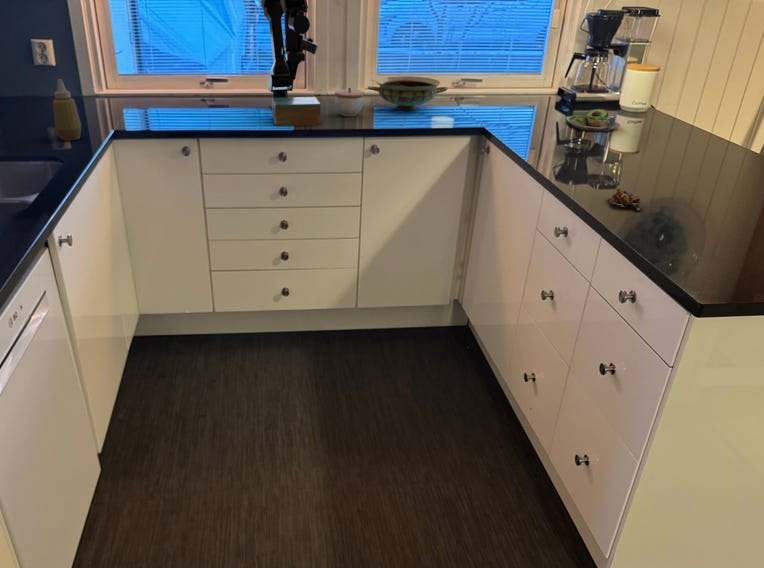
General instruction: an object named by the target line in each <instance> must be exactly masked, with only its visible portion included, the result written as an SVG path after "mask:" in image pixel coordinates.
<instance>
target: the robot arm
mask: <svg viewBox="0 0 764 568" xmlns="http://www.w3.org/2000/svg"><path fill="white" fill-rule="evenodd" d="M260 6H261V8H262V10H263V11H262V12H263V15H264V16H265V18H266V20H267V21H268V23H269V33H270V42H271V43H270V44H271V51H272V52H271V53H272V62H273V63H272V66H271V69H270V70H269V76H268V80H267V90H268V91H269V92H270V93H272V98H289V95H288V94H289V92H293V89H294V82H295V80H296V77H297V74H298V73H297V72H298V68H299V64H300V63H302V62H305V61H306V54H305V53H304V51H305V52H308V53H310V54H311V55H315V56H316V53H317V50H318V47H319V44H318V43H316V42H314V39H313V38H311V37H307V38H304V36H303V35H305V34H306V33H307V32H309V30H310V26H311V23H310V22H311V21H310V19H309V18H308V17H307V16H306V15H305V14H307V13H308V9H309V5H308V2H307V0H260ZM283 16H284V19H283ZM282 19H283V23H284V24H283V23H282ZM283 25H284V31H283ZM270 106H271V107H272V104H271V105H270Z"/></svg>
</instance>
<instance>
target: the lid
mask: <svg viewBox="0 0 764 568" xmlns="http://www.w3.org/2000/svg"><path fill="white" fill-rule="evenodd" d="M272 101H273V103H274V105H275V107H310V106H320V107H321V106H322V105H321V103H320V101H319V100H318V99H317V97H316V96H298V97H297V96H295V97H293V96H291V97H288V98H273V97H271V102H272Z"/></svg>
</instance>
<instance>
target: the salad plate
mask: <svg viewBox="0 0 764 568" xmlns="http://www.w3.org/2000/svg"><path fill="white" fill-rule="evenodd" d="M565 121H566V123H567V124H568V125H569V126H571V127H572V128H575V129H578V130H580V131H585V132H609V131H613V130H615V129H618V128H620V127H621V123H619V122H617V121H616V118H615V117H612V116H609V112H608V110H606V109H604V108H595V109H591V110H588V111H587V112H586V114H585V115H579V114H575V115H570V116H567V117H566V118H565Z"/></svg>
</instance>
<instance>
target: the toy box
mask: <svg viewBox="0 0 764 568" xmlns="http://www.w3.org/2000/svg"><path fill="white" fill-rule="evenodd" d="M271 105H272V106H271V113H272V120H273V123H274V125H275V127H288V126H289V127H290V126H318V125H319V126H320V125H321V106H310V107H275V105H274V103H273V101H272V100H271Z"/></svg>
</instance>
